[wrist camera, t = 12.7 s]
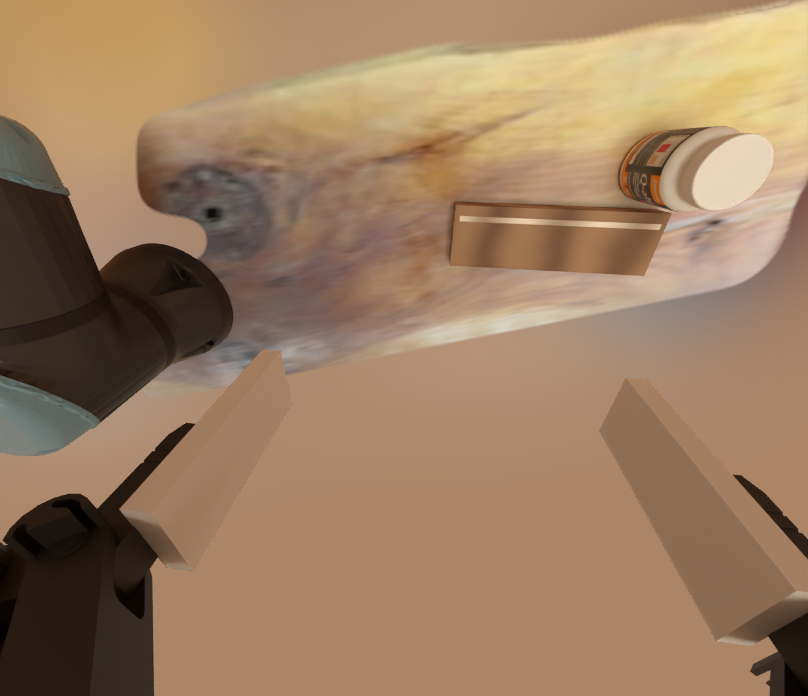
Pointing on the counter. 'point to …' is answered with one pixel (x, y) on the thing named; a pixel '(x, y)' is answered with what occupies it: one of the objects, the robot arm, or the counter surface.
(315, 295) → the counter surface
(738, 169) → the pill bottle
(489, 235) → the plank
